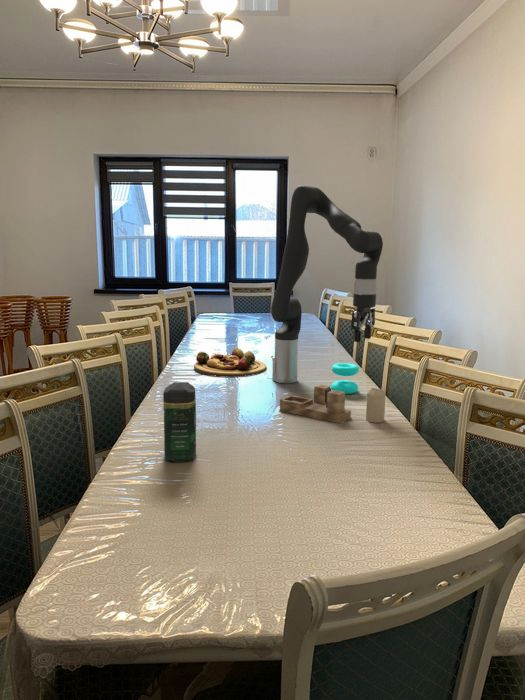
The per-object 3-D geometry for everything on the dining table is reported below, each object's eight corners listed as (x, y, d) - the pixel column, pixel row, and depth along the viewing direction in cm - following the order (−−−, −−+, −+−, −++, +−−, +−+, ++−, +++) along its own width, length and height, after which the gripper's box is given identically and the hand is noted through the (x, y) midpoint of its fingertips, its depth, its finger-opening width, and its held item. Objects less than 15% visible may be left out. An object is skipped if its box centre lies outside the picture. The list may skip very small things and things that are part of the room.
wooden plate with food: (180, 373, 220) (179, 354, 218) (214, 358, 249) (214, 342, 247) (248, 382, 208) (249, 362, 207) (276, 366, 237) (277, 348, 236)
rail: (279, 410, 168) (280, 385, 167) (291, 405, 174) (291, 381, 172) (340, 423, 156) (341, 396, 154) (350, 417, 161) (351, 391, 159)
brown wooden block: (313, 403, 176) (314, 386, 175) (319, 401, 179) (320, 384, 178) (325, 406, 173) (326, 388, 172) (331, 403, 177) (331, 386, 175)
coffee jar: (195, 462, 126) (194, 389, 122) (162, 463, 125) (160, 389, 122) (197, 448, 135) (196, 379, 132) (167, 448, 135) (165, 379, 131)
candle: (385, 418, 161) (386, 387, 159) (383, 423, 156) (384, 391, 154) (367, 416, 163) (368, 385, 161) (364, 421, 157) (366, 390, 156)
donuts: (332, 361, 196) (359, 362, 194) (331, 387, 198) (358, 388, 196) (330, 367, 187) (358, 368, 185) (329, 393, 188) (357, 395, 186)
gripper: (362, 290, 180) (360, 336, 184) (345, 293, 169) (343, 341, 172) (383, 291, 176) (380, 338, 179) (366, 294, 165) (364, 344, 168)
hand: (362, 340), depth 176 cm, fingers open, 8 cm apart
